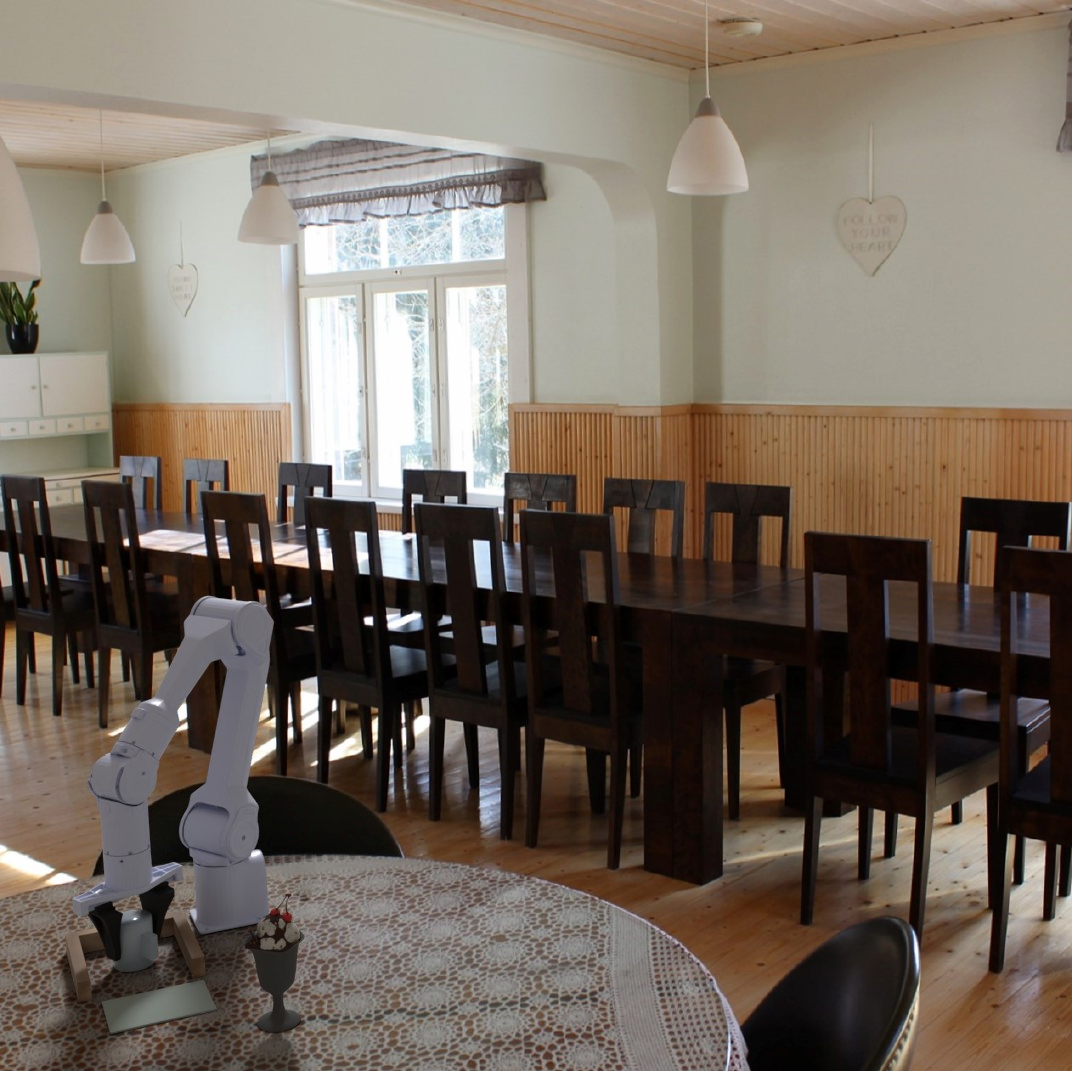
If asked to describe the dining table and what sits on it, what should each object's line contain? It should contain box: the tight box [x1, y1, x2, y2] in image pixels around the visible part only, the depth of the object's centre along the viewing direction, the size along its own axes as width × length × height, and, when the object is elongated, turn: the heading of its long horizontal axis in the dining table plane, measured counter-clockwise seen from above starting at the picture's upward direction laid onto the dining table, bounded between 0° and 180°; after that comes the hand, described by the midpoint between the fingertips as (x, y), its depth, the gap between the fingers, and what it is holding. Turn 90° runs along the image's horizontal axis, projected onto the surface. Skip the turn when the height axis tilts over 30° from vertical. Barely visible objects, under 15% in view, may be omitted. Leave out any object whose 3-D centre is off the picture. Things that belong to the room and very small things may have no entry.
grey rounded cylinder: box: [112, 909, 160, 973], centre depth 164 cm, size 7×5×6 cm
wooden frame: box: [64, 910, 206, 1003], centre depth 165 cm, size 15×15×2 cm
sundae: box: [244, 893, 305, 1033], centre depth 149 cm, size 7×7×15 cm
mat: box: [101, 979, 218, 1035], centre depth 154 cm, size 12×8×1 cm, turn 115°
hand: (133, 950), depth 165 cm, fingers closed on grey rounded cylinder, 5 cm apart
